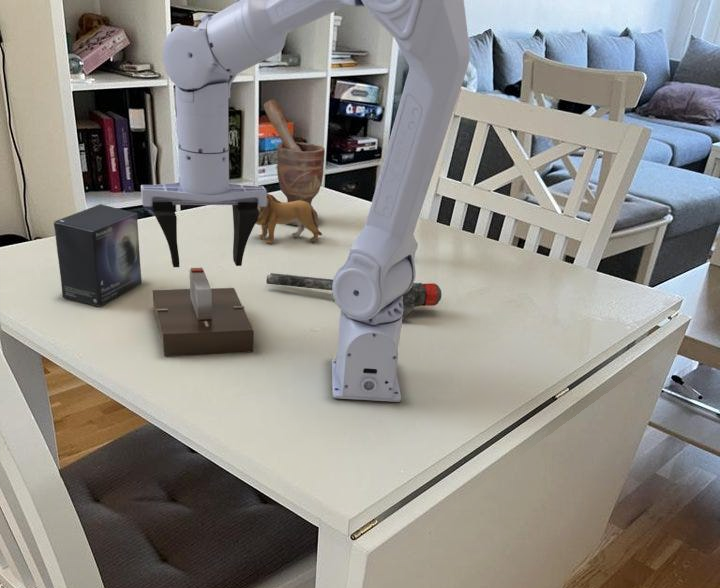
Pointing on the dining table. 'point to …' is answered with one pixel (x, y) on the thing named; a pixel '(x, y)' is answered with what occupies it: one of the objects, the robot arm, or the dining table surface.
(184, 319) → the block
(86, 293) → the small box
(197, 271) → the tap handle
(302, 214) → the lion figurine
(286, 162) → the mortar and pestle
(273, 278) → the grey and red tool
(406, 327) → the dining table surface
